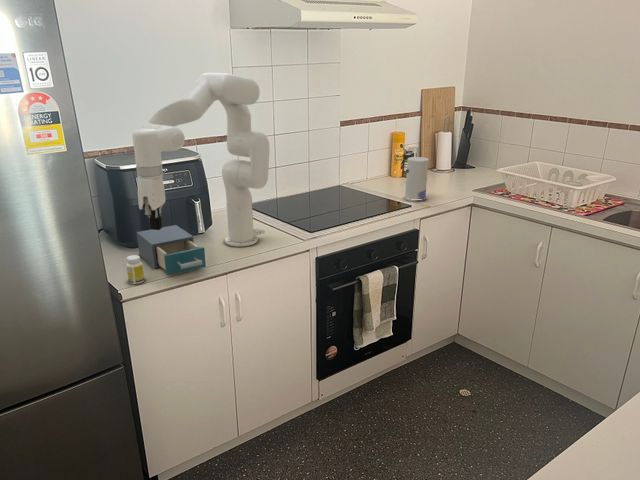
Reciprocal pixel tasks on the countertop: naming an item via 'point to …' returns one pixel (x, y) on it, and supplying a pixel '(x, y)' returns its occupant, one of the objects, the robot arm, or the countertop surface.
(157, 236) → the drawer cabinet
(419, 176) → the container
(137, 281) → the supplement bottle
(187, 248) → the drawer
